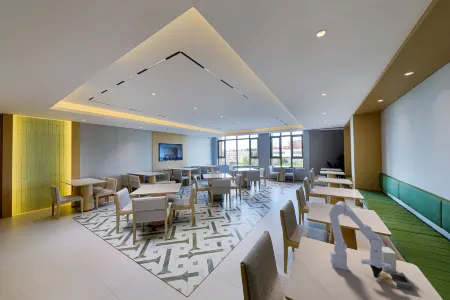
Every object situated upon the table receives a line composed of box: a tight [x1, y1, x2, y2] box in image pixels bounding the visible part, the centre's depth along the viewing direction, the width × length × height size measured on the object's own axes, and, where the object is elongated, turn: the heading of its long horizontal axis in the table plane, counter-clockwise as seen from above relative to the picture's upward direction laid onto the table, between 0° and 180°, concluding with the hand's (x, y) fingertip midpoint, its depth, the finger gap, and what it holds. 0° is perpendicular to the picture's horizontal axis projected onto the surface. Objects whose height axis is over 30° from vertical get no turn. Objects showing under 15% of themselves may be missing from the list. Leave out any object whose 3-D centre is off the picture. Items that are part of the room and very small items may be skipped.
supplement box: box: [382, 246, 397, 273], centre depth 118 cm, size 7×7×13 cm
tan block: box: [377, 271, 393, 285], centre depth 108 cm, size 6×3×4 cm, turn 70°
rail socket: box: [389, 272, 415, 292], centre depth 106 cm, size 7×10×3 cm
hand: (375, 276), depth 109 cm, fingers closed
